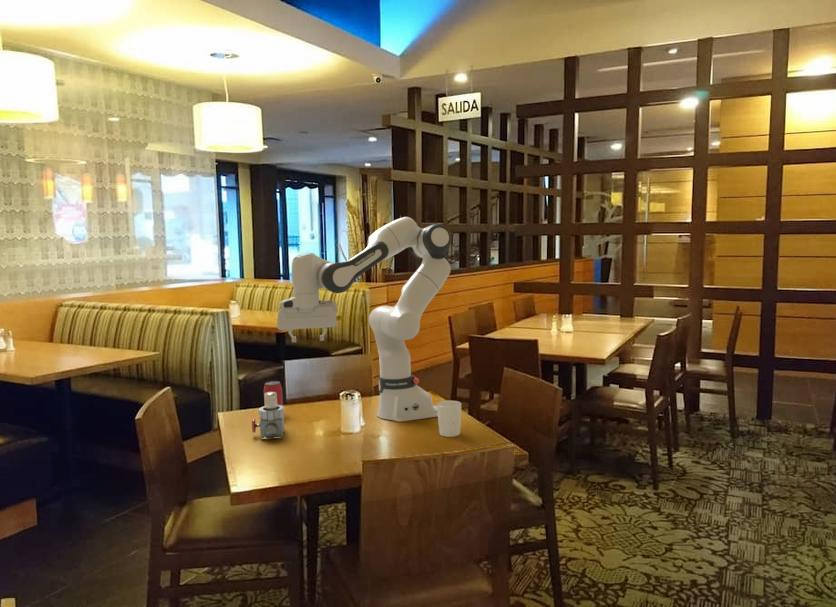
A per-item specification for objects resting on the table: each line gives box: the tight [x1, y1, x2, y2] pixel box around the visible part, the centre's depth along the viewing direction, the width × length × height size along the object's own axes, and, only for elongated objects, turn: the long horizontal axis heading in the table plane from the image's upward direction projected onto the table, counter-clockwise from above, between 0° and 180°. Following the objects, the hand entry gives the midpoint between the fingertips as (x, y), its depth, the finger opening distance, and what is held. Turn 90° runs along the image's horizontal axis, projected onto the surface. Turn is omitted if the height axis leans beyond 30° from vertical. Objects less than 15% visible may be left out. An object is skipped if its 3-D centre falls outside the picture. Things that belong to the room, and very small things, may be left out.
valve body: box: [251, 405, 285, 439], centre depth 210 cm, size 10×14×9 cm
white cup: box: [436, 400, 462, 438], centre depth 205 cm, size 8×8×10 cm
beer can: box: [263, 380, 284, 407], centre depth 233 cm, size 7×7×12 cm
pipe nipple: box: [263, 392, 278, 411], centre depth 209 cm, size 4×4×8 cm
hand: (308, 341), depth 218 cm, fingers open, 8 cm apart
